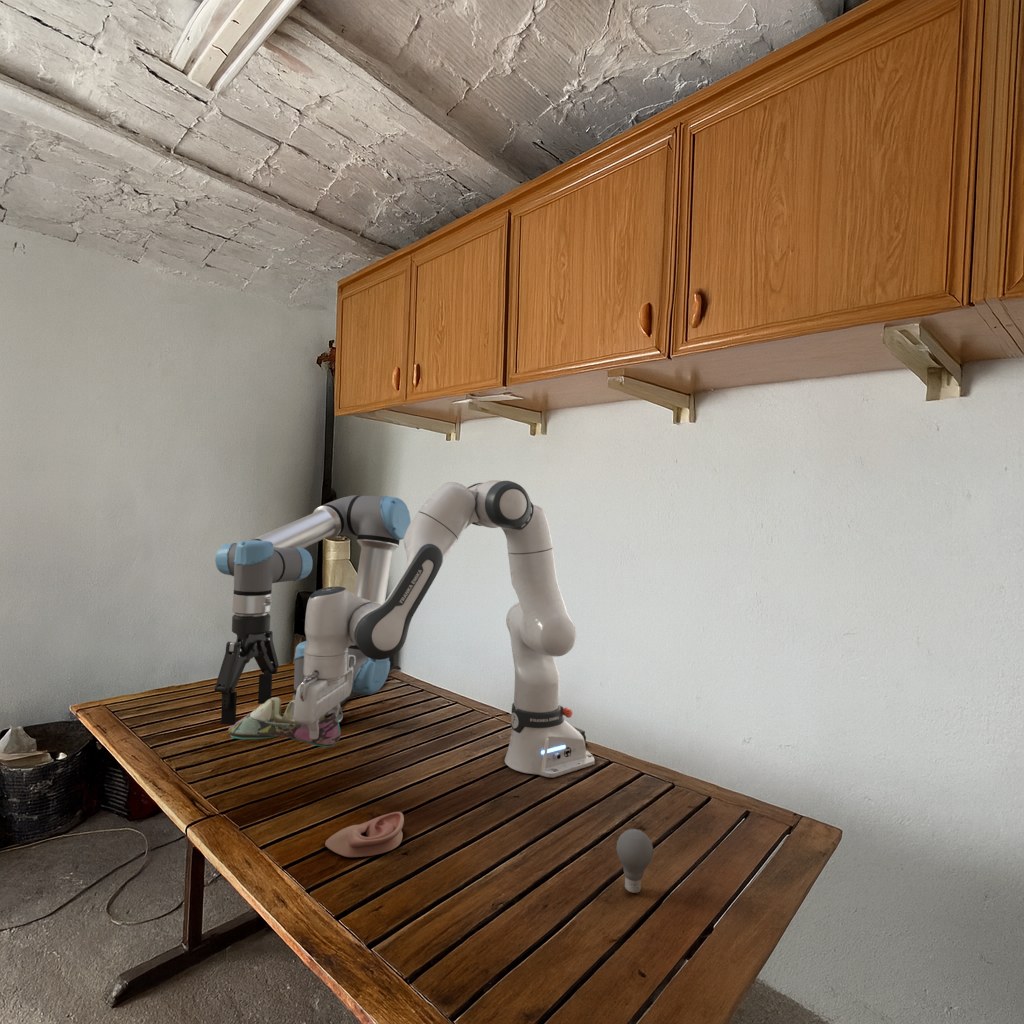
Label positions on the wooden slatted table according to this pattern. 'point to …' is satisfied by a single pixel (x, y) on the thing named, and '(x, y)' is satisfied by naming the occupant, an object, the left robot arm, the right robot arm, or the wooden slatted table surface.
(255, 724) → the ballet flat
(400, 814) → the anatomical model
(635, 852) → the light bulb
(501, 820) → the wooden slatted table surface
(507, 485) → the right robot arm
